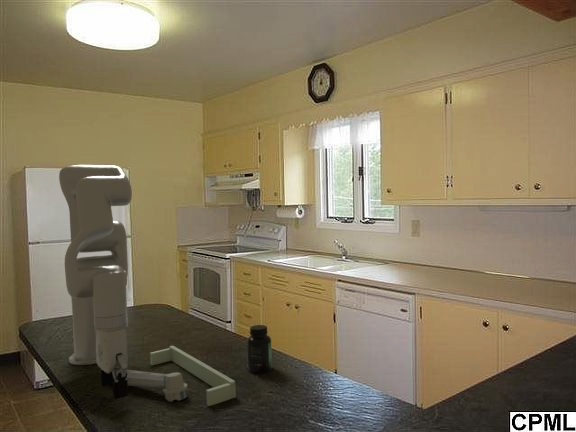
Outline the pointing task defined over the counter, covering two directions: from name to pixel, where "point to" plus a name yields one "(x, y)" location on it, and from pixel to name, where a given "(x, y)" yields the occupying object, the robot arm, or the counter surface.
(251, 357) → the supplement bottle
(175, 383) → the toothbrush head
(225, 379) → the bracket
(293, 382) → the counter surface
